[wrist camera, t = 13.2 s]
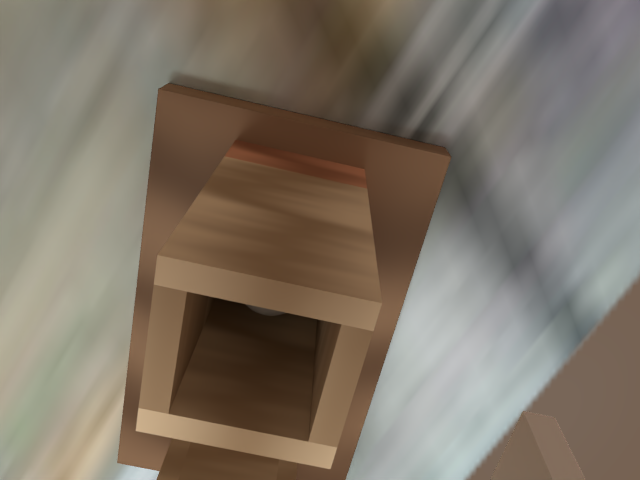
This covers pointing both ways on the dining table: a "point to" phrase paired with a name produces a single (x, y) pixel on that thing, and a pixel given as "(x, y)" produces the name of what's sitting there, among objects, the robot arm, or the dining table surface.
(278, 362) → the sleeve
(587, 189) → the dining table surface
